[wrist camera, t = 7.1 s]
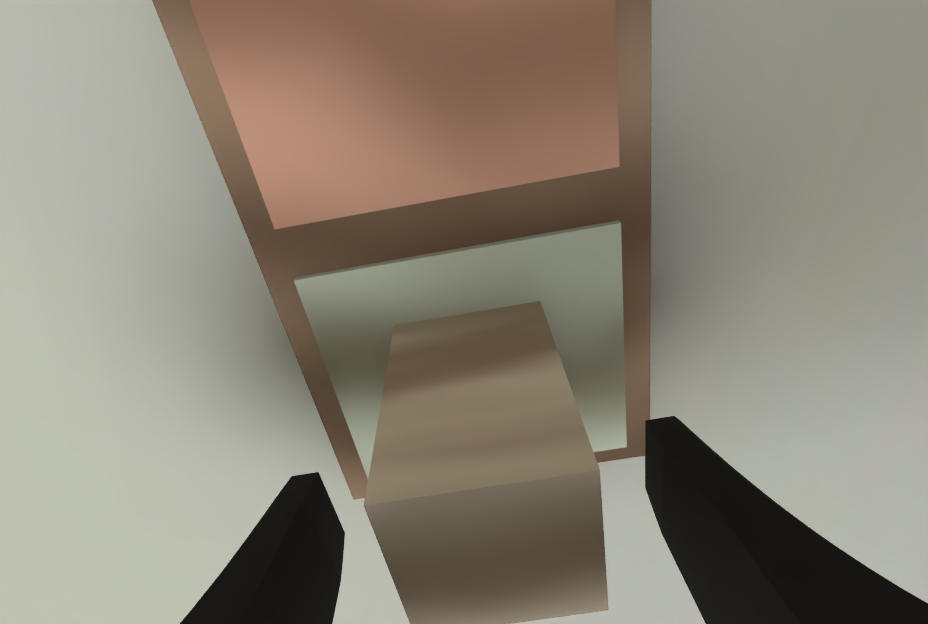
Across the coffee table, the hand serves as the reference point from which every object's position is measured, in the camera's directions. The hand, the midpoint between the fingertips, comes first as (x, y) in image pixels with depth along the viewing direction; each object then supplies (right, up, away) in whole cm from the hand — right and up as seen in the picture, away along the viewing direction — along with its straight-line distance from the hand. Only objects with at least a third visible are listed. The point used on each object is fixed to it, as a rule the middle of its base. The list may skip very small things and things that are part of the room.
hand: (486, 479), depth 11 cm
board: (-1, +6, +2) cm, 7 cm away
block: (0, +2, +3) cm, 4 cm away
